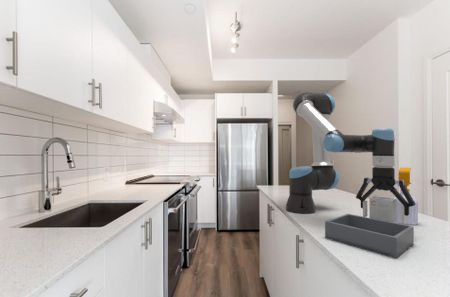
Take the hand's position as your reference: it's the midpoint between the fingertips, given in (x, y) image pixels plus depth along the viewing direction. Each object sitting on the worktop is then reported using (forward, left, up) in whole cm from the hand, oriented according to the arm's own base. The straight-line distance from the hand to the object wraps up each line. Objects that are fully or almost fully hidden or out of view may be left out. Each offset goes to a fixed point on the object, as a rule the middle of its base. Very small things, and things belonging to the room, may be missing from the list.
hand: (383, 220), depth 98 cm
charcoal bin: (+1, -18, -4) cm, 18 cm away
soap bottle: (+2, +21, -4) cm, 22 cm away
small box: (0, 0, -4) cm, 4 cm away
